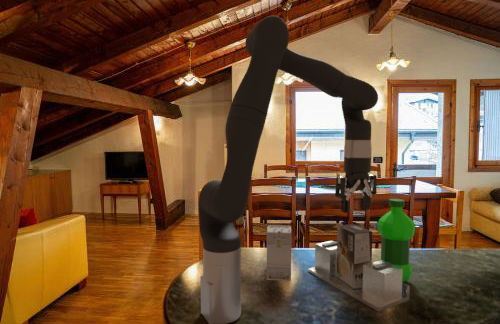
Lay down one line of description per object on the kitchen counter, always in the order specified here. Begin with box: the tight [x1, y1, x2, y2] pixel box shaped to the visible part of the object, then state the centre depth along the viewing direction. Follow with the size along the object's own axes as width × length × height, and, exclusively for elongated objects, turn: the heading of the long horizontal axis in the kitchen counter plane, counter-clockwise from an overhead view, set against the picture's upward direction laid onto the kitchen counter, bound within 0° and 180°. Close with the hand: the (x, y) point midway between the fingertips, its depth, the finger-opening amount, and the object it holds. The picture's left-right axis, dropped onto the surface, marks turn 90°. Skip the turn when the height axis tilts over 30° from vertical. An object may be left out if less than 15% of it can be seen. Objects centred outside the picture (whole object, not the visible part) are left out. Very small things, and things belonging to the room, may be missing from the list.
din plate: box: [307, 240, 411, 312], centre depth 97 cm, size 12×28×10 cm, turn 29°
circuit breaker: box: [266, 224, 292, 282], centre depth 106 cm, size 8×14×15 cm, turn 174°
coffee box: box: [336, 223, 373, 289], centre depth 96 cm, size 9×6×16 cm
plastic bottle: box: [376, 198, 416, 283], centre depth 99 cm, size 10×10×25 cm
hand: (355, 211), depth 95 cm, fingers open, 8 cm apart
